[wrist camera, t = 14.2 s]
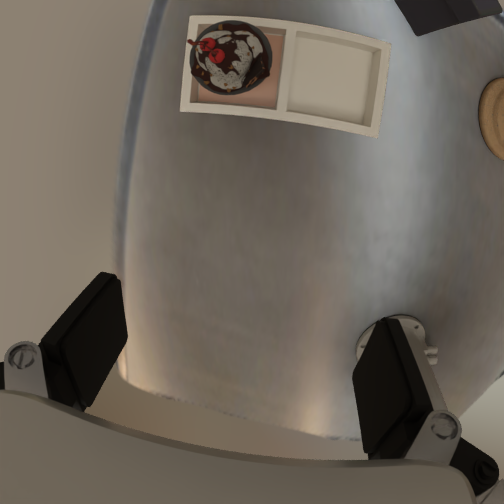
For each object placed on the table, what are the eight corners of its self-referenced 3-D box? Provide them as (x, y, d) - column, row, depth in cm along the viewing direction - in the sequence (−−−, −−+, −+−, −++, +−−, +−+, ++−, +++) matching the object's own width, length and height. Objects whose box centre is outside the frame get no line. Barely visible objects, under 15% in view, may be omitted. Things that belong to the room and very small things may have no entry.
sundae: (205, 52, 29) (157, 25, 16) (263, 34, 28) (254, -8, 15) (222, 103, 32) (184, 108, 19) (280, 87, 31) (284, 78, 17)
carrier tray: (379, 48, 28) (391, 43, 24) (367, 133, 33) (377, 138, 30) (198, 23, 28) (190, 15, 25) (189, 110, 33) (179, 111, 30)
